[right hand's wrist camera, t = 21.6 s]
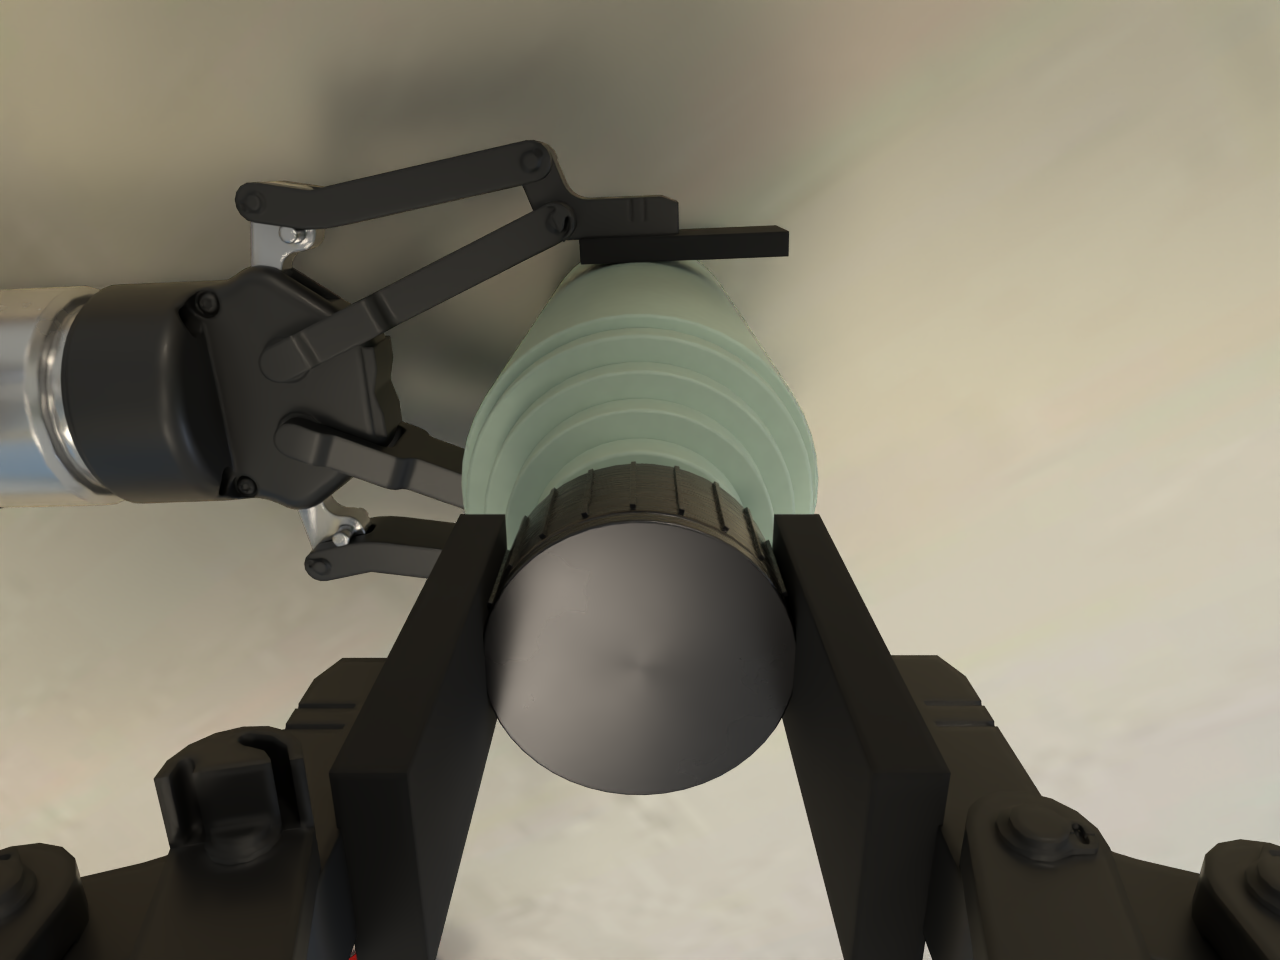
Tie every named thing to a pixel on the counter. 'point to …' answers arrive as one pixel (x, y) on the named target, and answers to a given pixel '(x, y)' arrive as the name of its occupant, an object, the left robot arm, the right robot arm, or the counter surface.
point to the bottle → (639, 397)
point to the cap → (639, 632)
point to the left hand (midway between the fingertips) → (779, 370)
